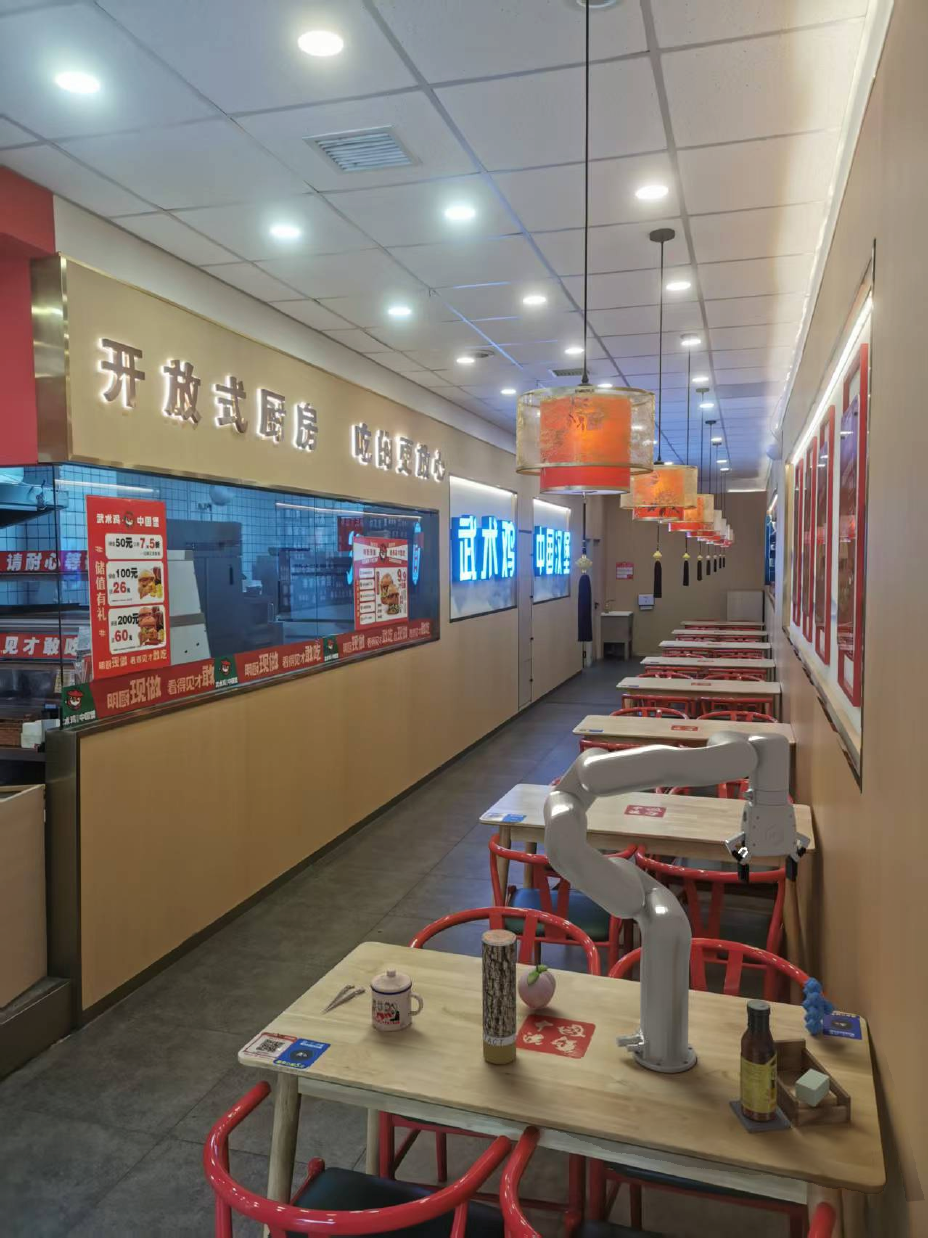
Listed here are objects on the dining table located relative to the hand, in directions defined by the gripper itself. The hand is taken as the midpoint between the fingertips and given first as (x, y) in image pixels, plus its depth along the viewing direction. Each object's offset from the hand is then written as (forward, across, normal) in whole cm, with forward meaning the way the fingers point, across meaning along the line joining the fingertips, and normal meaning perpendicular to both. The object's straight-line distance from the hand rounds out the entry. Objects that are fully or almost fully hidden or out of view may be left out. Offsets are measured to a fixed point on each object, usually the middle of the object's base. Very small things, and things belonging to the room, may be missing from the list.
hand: (767, 880), depth 176 cm
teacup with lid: (+36, -73, +23) cm, 85 cm away
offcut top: (+33, 0, -18) cm, 38 cm away
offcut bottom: (+37, 0, -18) cm, 41 cm away
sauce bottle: (+36, -10, -18) cm, 41 cm away
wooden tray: (+36, 0, -13) cm, 39 cm away
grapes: (+36, +15, +7) cm, 40 cm away
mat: (+36, -10, -18) cm, 42 cm away
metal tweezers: (+37, -87, +33) cm, 100 cm away
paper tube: (+36, -53, +7) cm, 65 cm away
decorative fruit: (+36, -42, +25) cm, 61 cm away
